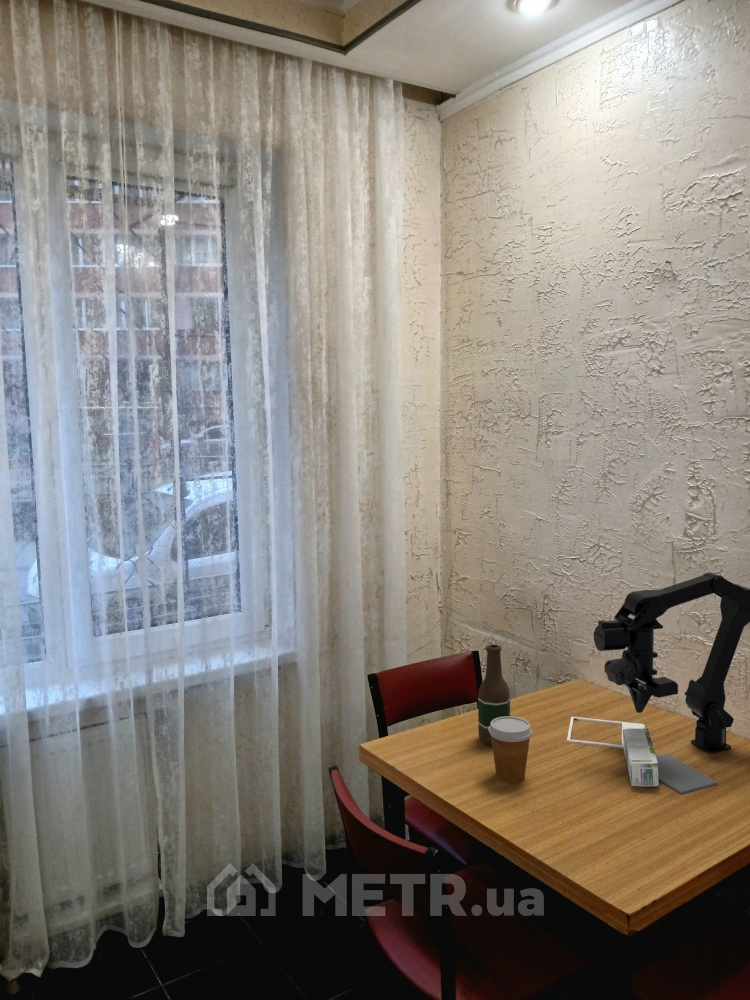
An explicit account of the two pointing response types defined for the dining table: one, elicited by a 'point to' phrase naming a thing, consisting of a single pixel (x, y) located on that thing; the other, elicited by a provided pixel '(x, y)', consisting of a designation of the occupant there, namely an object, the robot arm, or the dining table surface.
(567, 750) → the dining table surface
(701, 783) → the mat
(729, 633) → the robot arm
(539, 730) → the dining table surface
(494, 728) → the disposable coffee cup
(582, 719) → the photo frame
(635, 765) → the syrup box
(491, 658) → the beer bottle
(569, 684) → the dining table surface
